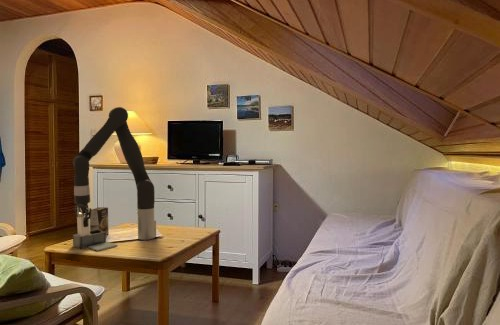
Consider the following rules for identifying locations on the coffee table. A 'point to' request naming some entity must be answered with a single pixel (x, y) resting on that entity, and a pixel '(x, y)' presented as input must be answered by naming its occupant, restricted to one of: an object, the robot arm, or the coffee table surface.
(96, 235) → the grey rectangular bin
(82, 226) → the square peg
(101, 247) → the rubber mat
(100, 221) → the coffee box
